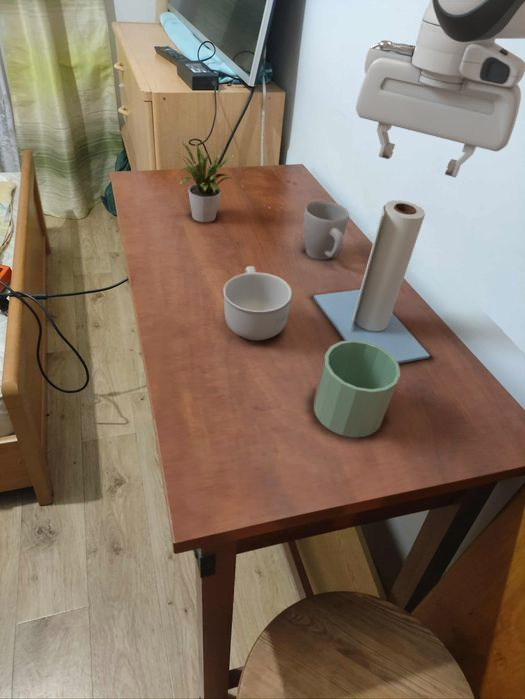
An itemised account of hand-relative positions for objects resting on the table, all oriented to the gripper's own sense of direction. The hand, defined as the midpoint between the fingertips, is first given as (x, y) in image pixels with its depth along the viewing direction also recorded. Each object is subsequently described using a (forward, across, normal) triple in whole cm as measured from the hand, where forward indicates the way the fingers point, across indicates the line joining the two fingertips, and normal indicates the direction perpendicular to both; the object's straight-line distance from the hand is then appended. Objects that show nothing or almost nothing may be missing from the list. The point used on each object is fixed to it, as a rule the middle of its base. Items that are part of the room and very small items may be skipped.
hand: (417, 166), depth 71 cm
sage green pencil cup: (+28, +4, -21) cm, 36 cm away
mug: (+28, -16, +17) cm, 37 cm away
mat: (+28, 0, 0) cm, 29 cm away
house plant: (+28, -46, +16) cm, 57 cm away
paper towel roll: (+28, -1, 0) cm, 28 cm away
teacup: (+29, -17, -11) cm, 35 cm away
